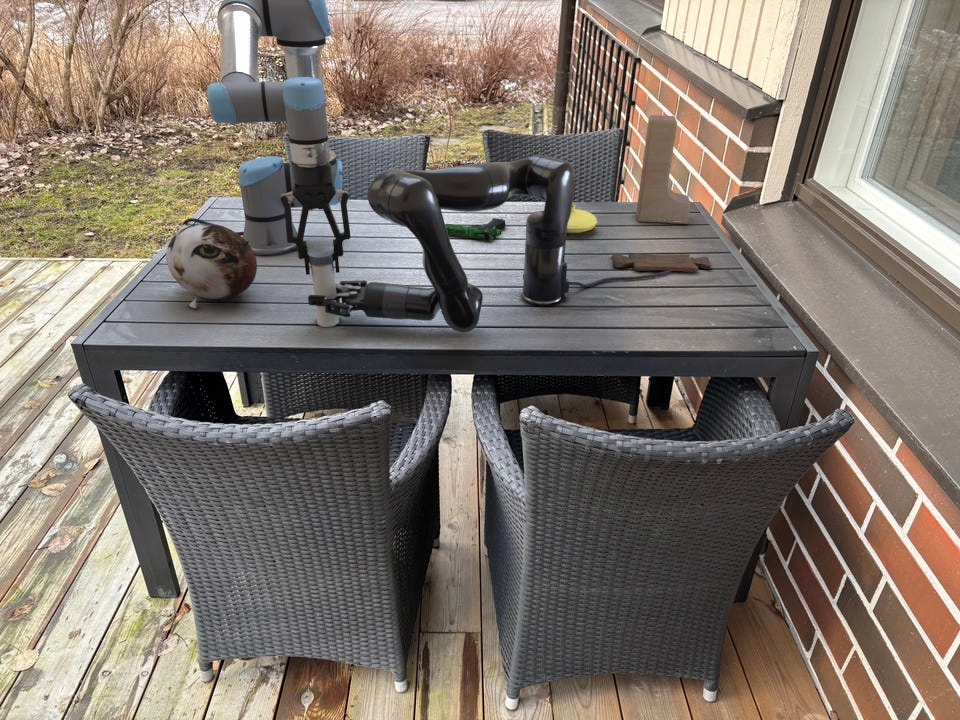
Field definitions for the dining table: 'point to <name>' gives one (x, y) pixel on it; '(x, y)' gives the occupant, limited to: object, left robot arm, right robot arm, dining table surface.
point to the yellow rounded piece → (580, 221)
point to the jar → (324, 292)
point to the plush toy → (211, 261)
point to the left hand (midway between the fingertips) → (322, 270)
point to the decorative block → (660, 176)
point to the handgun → (478, 230)
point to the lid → (321, 256)
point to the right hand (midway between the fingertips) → (313, 294)
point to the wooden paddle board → (661, 262)
